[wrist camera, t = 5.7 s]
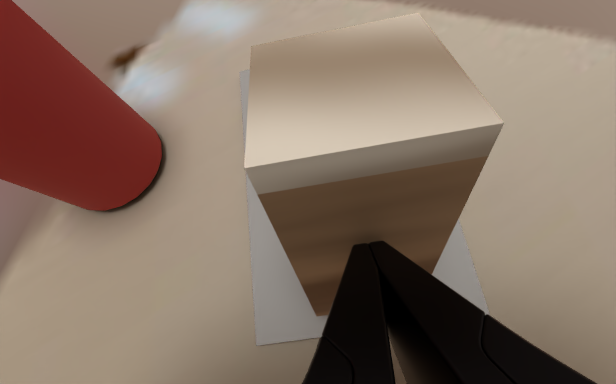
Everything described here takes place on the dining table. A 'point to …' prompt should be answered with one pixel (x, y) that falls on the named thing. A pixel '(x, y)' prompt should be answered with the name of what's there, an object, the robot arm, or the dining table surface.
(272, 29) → the dining table surface
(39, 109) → the beer can
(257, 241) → the rubber mat
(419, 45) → the walnut block
